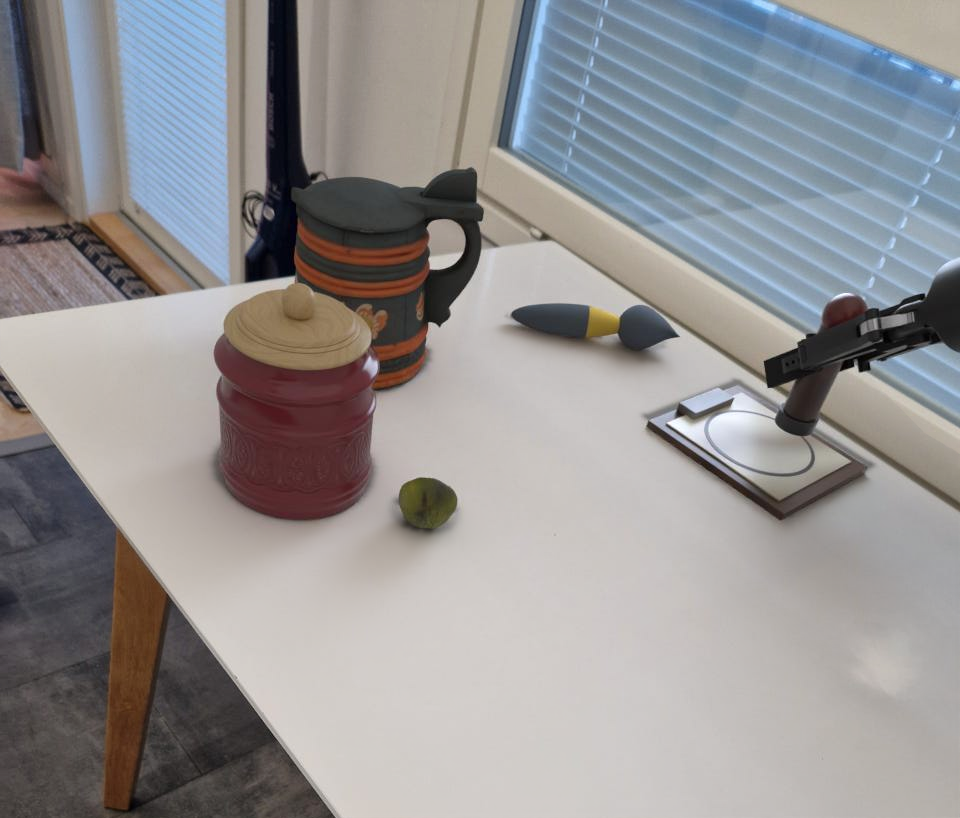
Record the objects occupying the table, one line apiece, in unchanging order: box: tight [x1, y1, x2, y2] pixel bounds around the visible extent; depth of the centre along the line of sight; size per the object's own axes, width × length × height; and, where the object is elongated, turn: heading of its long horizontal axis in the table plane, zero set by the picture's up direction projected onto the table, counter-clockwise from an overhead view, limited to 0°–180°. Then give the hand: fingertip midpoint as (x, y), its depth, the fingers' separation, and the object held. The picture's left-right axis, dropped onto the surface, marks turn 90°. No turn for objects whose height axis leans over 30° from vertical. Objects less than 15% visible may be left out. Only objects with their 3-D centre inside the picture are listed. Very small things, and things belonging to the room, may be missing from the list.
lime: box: [398, 476, 459, 529], centre depth 76 cm, size 4×5×5 cm
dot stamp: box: [775, 292, 869, 436], centre depth 86 cm, size 4×4×14 cm
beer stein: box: [290, 166, 485, 390], centre depth 89 cm, size 19×15×20 cm
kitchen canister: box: [213, 283, 380, 520], centre depth 74 cm, size 13×13×18 cm
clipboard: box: [645, 384, 869, 521], centre depth 95 cm, size 18×16×2 cm
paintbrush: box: [510, 302, 681, 351], centre depth 105 cm, size 20×5×5 cm, turn 91°
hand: (784, 372), depth 90 cm, fingers closed on dot stamp, 3 cm apart
